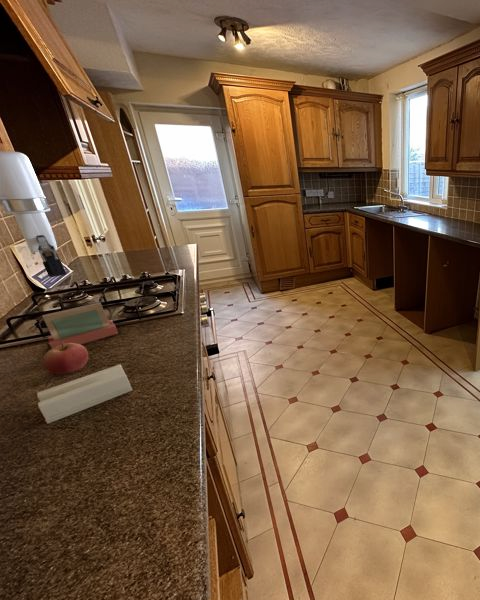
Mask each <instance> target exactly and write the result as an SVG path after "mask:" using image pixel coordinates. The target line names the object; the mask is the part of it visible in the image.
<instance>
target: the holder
mask: <svg viewBox="0 0 480 600" xmlns="http://www.w3.org/2000/svg"><path fill="white" fill-rule="evenodd" d="M132 391H133V388H132V386H131V383H130V380H129V378H128V376H127V374H126V372H125V371H124V369H123V367H122V365H121V364H116V365H114V366H111V367H108V368H105V369H102V370H100V371H97V372H93V373H90V374H88V375H85V376H82V377H79V378H76V379H74V380H71V381H67V382H65V383H61V384H59V385H56V386H53V387H49V388H47V389H44V390H41V391H37V392H36V396H37V397H36V398H37V399H38V402H37V405H38V409H39V411H40V412H41V414H42V416H43V418H44V421H45V422H46V424H47V425H48V424H51V423H54V422H56V421H60V420H61V419H65V418H67V417H69V416H71V415H75V414H76V413H79V412H81V411H84V410H88V409H90V408H92V407H94V406H97V405H100V404H101V403H104V402H107V401H109V400H112V399H115V398H117V397H119V396H122V395H125V394H127V393H130V392H132Z"/></svg>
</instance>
